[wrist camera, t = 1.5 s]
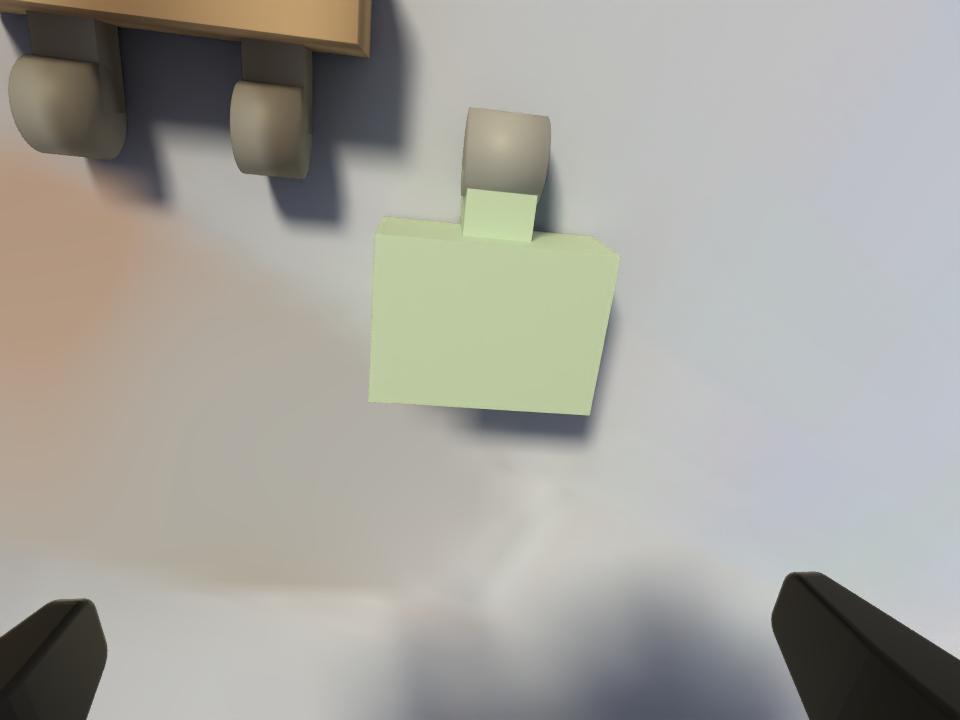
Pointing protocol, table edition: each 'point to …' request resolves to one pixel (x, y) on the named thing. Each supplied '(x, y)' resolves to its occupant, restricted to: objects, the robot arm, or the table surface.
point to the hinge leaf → (491, 289)
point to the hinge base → (187, 11)
